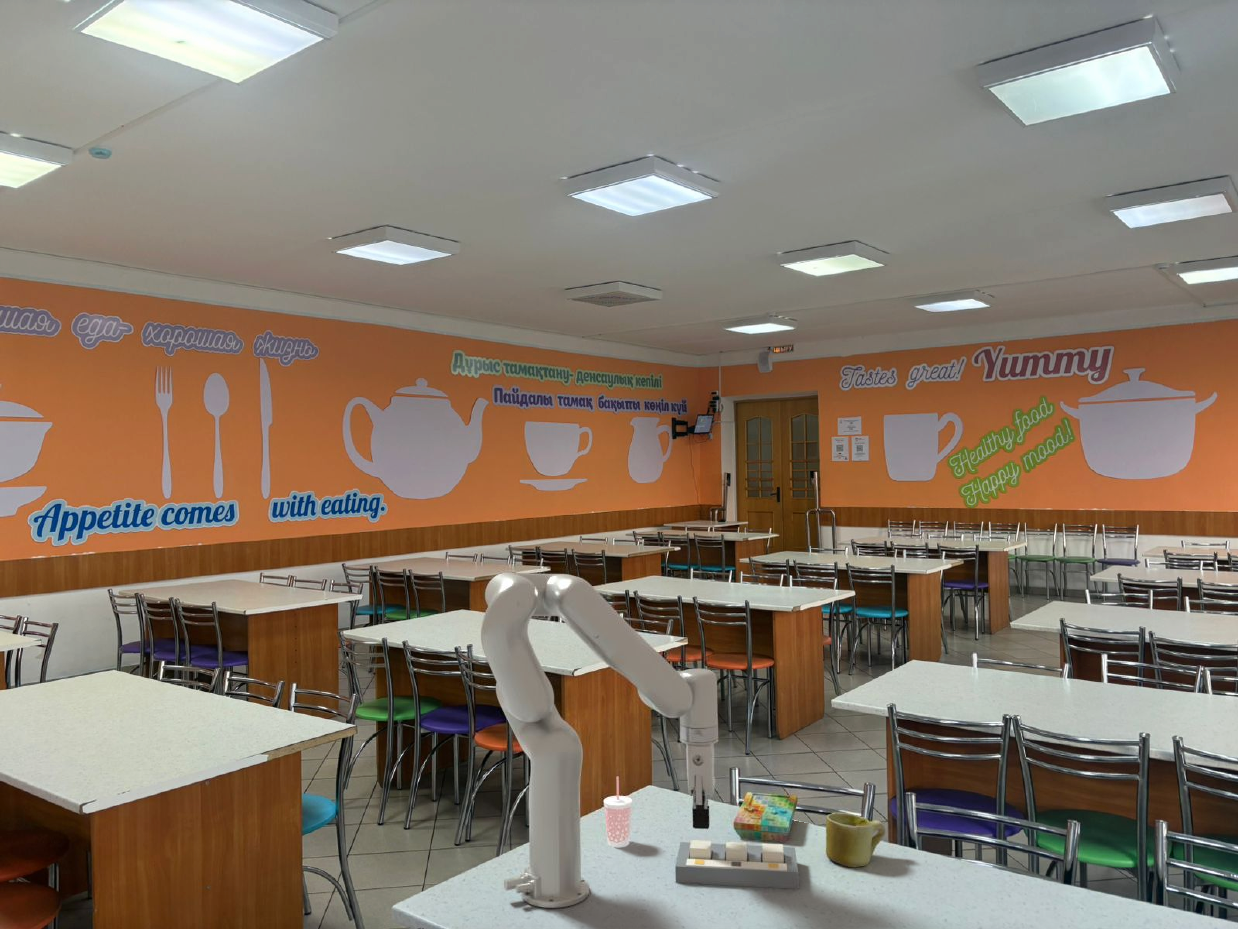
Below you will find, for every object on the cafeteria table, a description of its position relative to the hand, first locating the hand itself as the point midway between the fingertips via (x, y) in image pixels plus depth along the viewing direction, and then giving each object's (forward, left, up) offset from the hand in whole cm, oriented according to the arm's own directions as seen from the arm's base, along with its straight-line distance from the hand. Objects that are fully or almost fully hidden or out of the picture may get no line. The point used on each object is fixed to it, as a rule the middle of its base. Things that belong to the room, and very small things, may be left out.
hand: (701, 827), depth 171 cm
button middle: (+6, -4, -6) cm, 9 cm away
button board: (+6, -4, -8) cm, 11 cm away
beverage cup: (-8, +20, -9) cm, 23 cm away
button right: (+11, -8, -6) cm, 15 cm away
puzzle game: (+26, +14, -9) cm, 31 cm away
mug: (+31, -10, -9) cm, 33 cm away
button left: (0, 0, -6) cm, 6 cm away
